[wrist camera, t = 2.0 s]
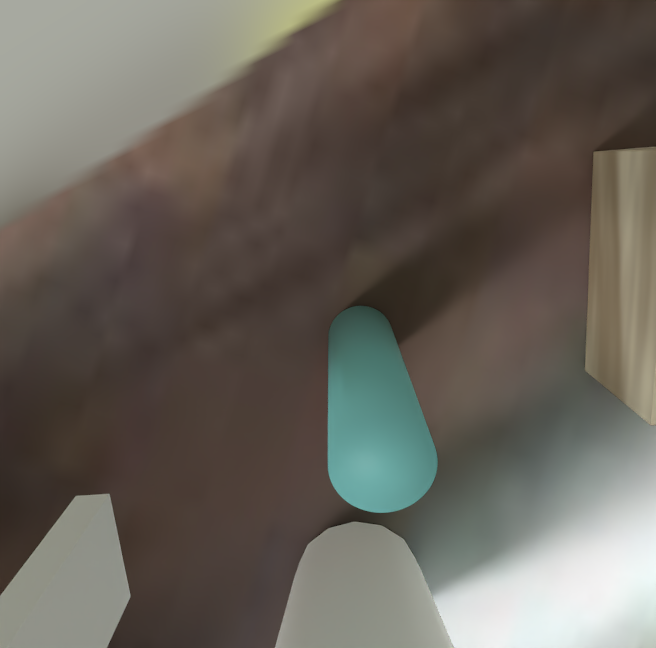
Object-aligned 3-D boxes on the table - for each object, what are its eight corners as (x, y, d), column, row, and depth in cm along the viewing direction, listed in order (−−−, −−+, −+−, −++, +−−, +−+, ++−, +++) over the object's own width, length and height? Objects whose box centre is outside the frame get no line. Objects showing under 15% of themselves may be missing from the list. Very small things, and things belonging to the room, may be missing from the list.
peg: (330, 369, 28) (332, 516, 17) (325, 308, 27) (323, 418, 16) (394, 364, 28) (439, 508, 17) (391, 303, 27) (436, 410, 16)
